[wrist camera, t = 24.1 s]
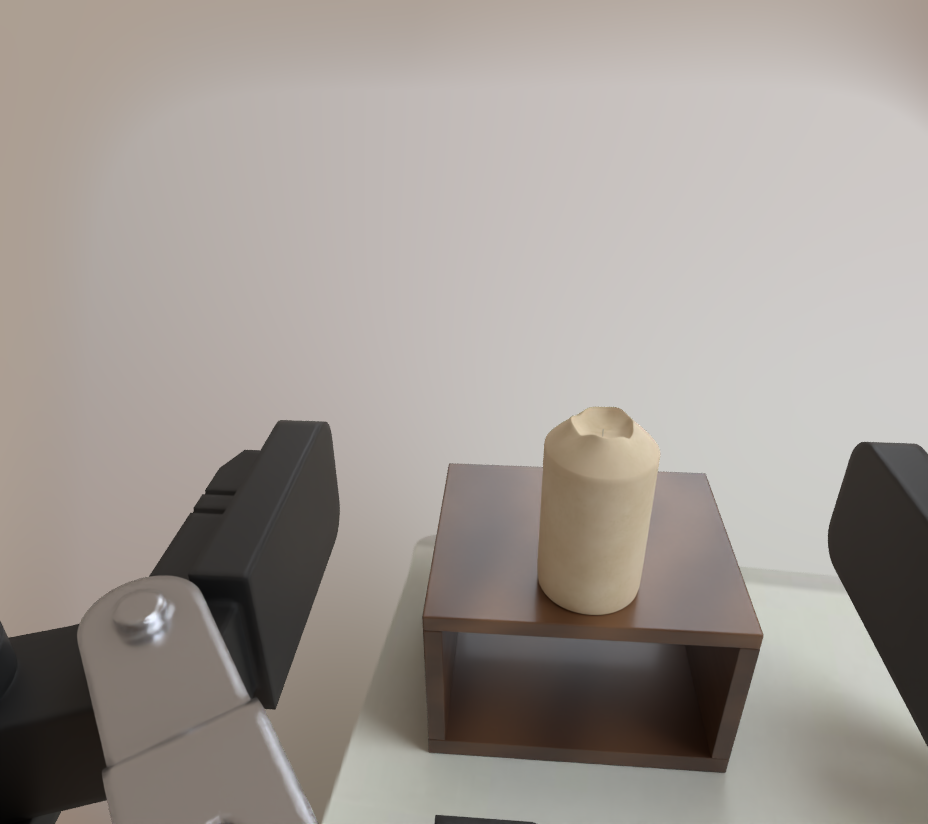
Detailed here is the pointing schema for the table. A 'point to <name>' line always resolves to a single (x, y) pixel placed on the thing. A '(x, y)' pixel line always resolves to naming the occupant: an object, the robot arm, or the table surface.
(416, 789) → the table surface
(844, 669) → the table surface
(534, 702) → the shelf
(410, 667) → the table surface
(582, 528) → the candle
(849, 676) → the table surface
